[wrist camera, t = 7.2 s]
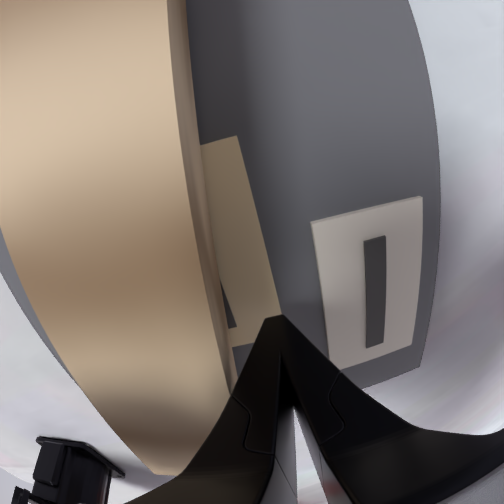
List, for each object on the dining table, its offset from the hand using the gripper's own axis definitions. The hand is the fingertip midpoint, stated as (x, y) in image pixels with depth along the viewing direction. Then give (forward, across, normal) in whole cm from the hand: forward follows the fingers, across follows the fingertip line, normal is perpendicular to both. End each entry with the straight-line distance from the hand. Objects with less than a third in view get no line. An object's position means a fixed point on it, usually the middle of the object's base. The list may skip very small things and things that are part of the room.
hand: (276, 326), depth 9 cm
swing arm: (+1, +3, -5) cm, 6 cm away
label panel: (+2, +2, -5) cm, 5 cm away
